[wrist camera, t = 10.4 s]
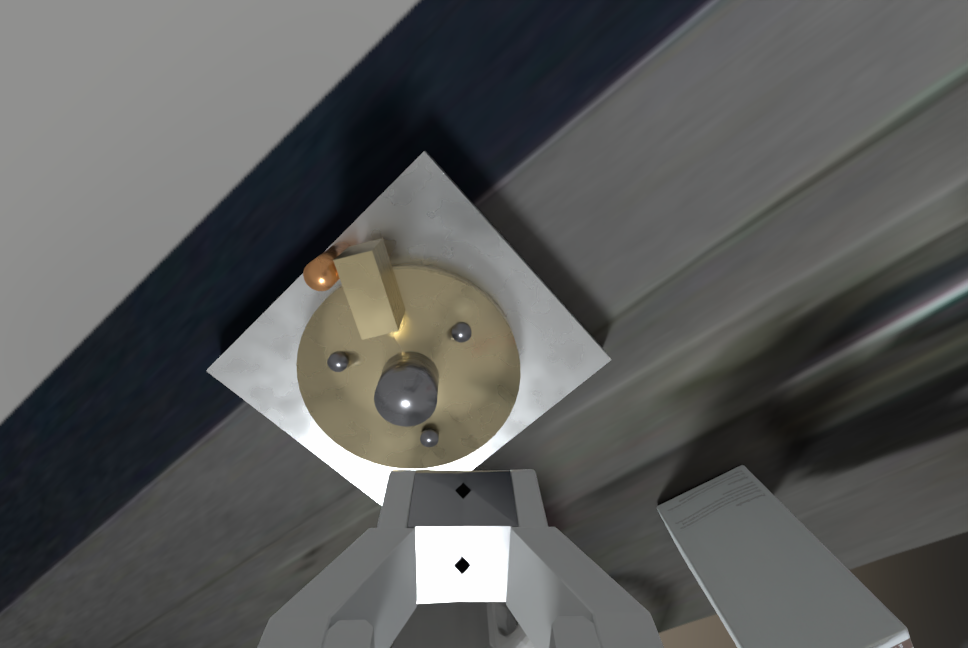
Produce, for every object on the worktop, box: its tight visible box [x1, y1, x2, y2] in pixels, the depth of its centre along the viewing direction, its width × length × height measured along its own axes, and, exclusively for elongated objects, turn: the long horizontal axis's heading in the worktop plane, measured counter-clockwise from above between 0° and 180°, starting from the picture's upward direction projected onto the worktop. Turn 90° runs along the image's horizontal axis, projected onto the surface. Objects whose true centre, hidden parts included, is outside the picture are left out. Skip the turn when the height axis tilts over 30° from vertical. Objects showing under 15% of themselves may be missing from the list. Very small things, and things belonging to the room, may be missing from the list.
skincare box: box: [657, 465, 913, 648], centre depth 32 cm, size 8×6×15 cm
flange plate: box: [296, 238, 521, 469], centre depth 28 cm, size 16×14×5 cm
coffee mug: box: [393, 601, 535, 648], centre depth 36 cm, size 13×10×10 cm
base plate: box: [206, 151, 611, 505], centre depth 29 cm, size 20×18×7 cm
